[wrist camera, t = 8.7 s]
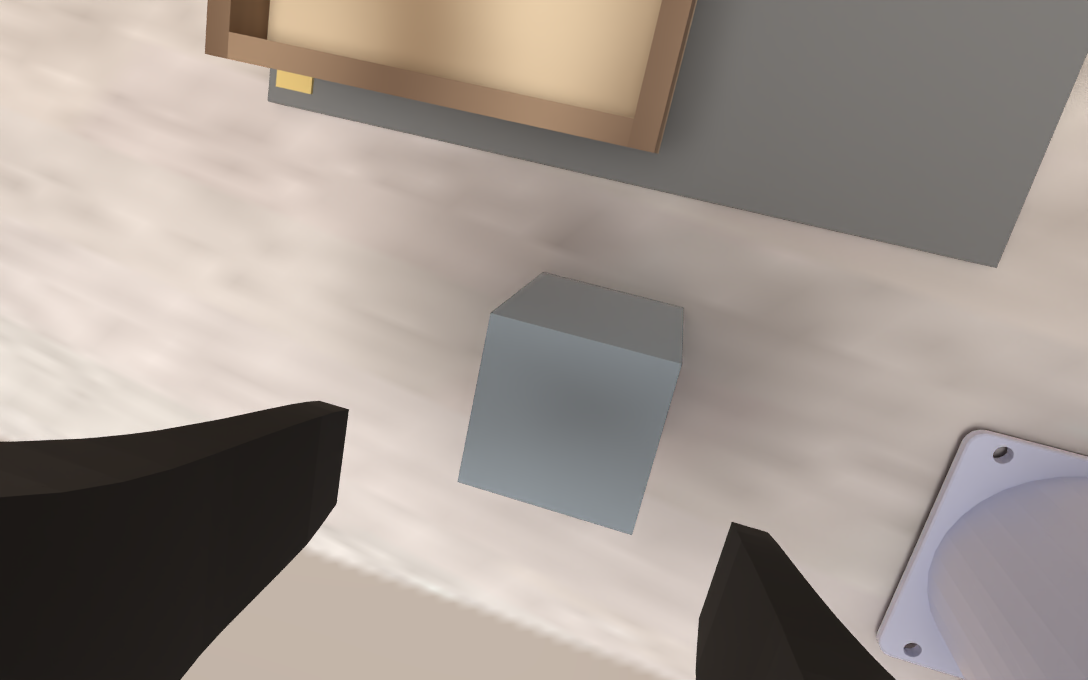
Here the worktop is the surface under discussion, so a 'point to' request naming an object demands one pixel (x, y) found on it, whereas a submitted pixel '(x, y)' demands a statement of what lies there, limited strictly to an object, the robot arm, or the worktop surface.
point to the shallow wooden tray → (480, 55)
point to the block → (573, 399)
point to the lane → (820, 116)
